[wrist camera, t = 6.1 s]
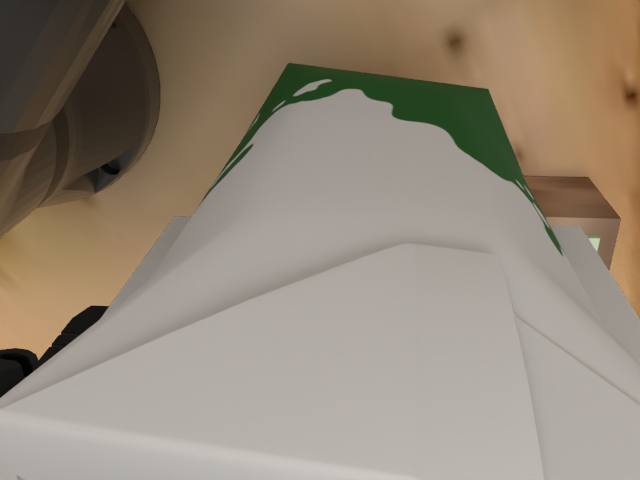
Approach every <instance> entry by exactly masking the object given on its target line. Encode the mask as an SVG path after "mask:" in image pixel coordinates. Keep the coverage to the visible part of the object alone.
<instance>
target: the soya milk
mask: <svg viewBox="0 0 640 480" xmlns="http://www.w3.org/2000/svg"><path fill="white" fill-rule="evenodd" d="M0 480H640V361H639V360H638V359H637V358H636V357H635V356H634V355H633V354H632V353H631V352H630V351H629V350H628V349H627V348H626V347H625V346H624V345H623V344H622V343H621V342H620V341H618V340H617V339H616V338H615V337H614V336H613V335H612V334H611V333H610V332H609V331H608V330H607V329H606V328H605V327H604V325H603V323H602V321H601V319H600V317H599V316H598V314H597V312H596V310H595V308H594V306H593V305H592V303H591V301H590V299H589V297H588V295H587V294H586V292H585V290H584V288H583V286H582V284H581V283H580V281H579V279H578V277H577V275H576V273H575V272H574V270H573V268H572V266H571V264H570V262H569V261H568V259H567V257H566V255H565V253H564V251H563V250H562V248H561V246H560V244H559V242H558V240H557V238H556V237H555V235H554V233H553V231H552V229H551V227H550V225H549V224H548V222H547V220H546V218H545V216H544V214H543V213H542V211H541V209H540V207H539V205H538V203H537V201H536V200H535V198H534V196H533V194H532V192H531V190H530V188H529V186H528V185H527V183H526V181H525V178H524V176H523V173H522V171H521V169H520V166H519V164H518V161H517V159H516V156H515V154H514V152H513V149H512V147H511V144H510V142H509V139H508V137H507V135H506V132H505V130H504V127H503V125H502V122H501V120H500V117H499V115H498V113H497V110H496V108H495V105H494V103H493V100H492V98H491V95H490V93H489V90H488V89H483V88H475V87H468V86H460V85H453V84H445V83H437V82H430V81H422V80H414V79H407V78H399V77H391V76H384V75H376V74H369V73H361V72H353V71H346V70H338V69H330V68H323V67H315V66H308V65H300V64H292V63H288V64H287V66H286V68H285V70H284V71H283V73H282V74H281V76H280V78H279V79H278V81H277V83H276V84H275V86H274V88H273V89H272V91H271V93H270V94H269V96H268V98H267V99H266V101H265V103H264V104H263V106H262V108H261V109H260V111H259V113H258V114H257V116H256V117H255V119H254V121H253V123H252V124H251V126H250V128H249V129H248V131H247V133H246V134H245V136H244V138H243V139H242V141H241V143H240V144H239V146H238V147H237V149H236V150H235V152H234V153H233V155H232V156H231V158H230V159H229V161H228V162H227V164H226V165H225V167H224V168H223V170H222V172H221V173H220V175H219V176H218V178H217V179H216V181H215V182H214V184H213V185H212V187H211V188H210V190H209V191H208V193H207V194H206V196H205V197H204V199H203V200H202V202H201V203H200V205H199V206H198V208H197V209H196V211H195V212H194V214H193V215H192V217H191V218H190V220H189V221H188V223H187V224H186V226H185V227H184V229H183V230H182V232H181V233H180V235H179V236H178V238H177V239H176V241H175V242H174V244H173V245H172V247H171V248H170V250H169V251H168V253H167V254H166V256H165V257H164V259H163V260H162V262H161V263H160V265H159V266H158V268H157V269H156V271H155V272H154V274H153V275H152V277H151V278H150V279H149V281H148V282H147V283H145V284H144V285H143V286H142V287H140V288H139V289H138V290H137V291H135V292H134V293H133V294H132V295H130V296H129V297H128V298H126V299H125V300H124V301H123V302H121V303H120V304H119V305H118V306H116V307H115V308H114V309H113V310H111V311H110V312H109V313H107V314H106V315H105V316H104V317H102V318H101V319H100V320H99V321H97V322H96V323H95V324H94V325H92V326H91V327H90V328H88V329H87V330H86V331H85V332H83V333H82V334H81V335H80V336H78V337H77V338H76V339H74V340H73V341H72V342H71V343H69V344H68V345H67V346H66V347H64V348H63V349H62V350H60V351H59V352H58V353H57V354H55V355H54V356H53V357H52V358H50V359H49V360H48V361H46V362H45V363H44V364H43V365H41V366H40V367H39V368H38V369H36V370H35V371H34V372H32V373H31V374H30V375H29V376H27V377H26V378H25V379H24V380H22V381H21V382H20V383H18V384H17V385H16V386H15V387H13V388H12V389H11V390H10V391H8V392H7V393H6V394H5V395H3V396H2V397H1V398H0Z"/></svg>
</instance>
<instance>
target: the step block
mask: <svg viewBox="0 0 640 480" xmlns="http://www.w3.org/2000/svg"><path fill="white" fill-rule="evenodd" d="M524 178H525V181H526V183H527V185H528V186H529V188H530V190H531V192H532V194H533V196H534V198H535V200H536V201H537V203H538V205H539V207H540V209H541V211H542V213H543V214H544V216H545V218H546V220H547V222H548V224H549V225H559V226H581V228H582V229H583V231H584V232H585V234H586V236H587V237H588V239H589V240H590V242H591V243H592V245H593V247H594V248H595V250H596V251H597V253H598V254H599V256H600V258H601V259H602V261H603V262H604V264H605V265H606V267H607V269H608V270H609V269H610V265H611V260H612V256H613V252H614V247H615V243H616V238H617V234H618V230H619V225H620V221H621V218H620V217H619V216H618V214H617V213H616V212H615V211H614V209H613V208H612V207H611V206H610V204H609V203H608V202H607V200H606V199H605V198H604V197H603V195H602V194H601V193H600V192H599V190H598V189H597V188H596V187H595V185H594V184H593V183H592V182H591V180H590V179H589V178H588V177H539V176H524Z"/></svg>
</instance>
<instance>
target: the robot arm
mask: <svg viewBox="0 0 640 480" xmlns="http://www.w3.org/2000/svg"><path fill="white" fill-rule="evenodd" d="M125 1H126V0H0V238H1V237H2V236H4V235H5V234H6V233H7V232H8V231H10V230H11V229H12V228H13V227H14V226H16V225H17V224H18V223H19V222H21V221H22V220H23V219H24V218H25V217H27V216H28V215H29V214H30V213H31V212H32V211H34V210H35V209H36V208H40V207H45V206H50V205H55V204H60V203H65V202H70V201H75V200H79V199H83V198H86V197H89V196H91V195H93V194H96V193H98V192H100V191H102V190H103V189H105V188H107V187H109V186H110V185H112V184H113V183H114V182H116V181H117V180H118V179H119V178H120V177H121V176H122V175H123V174H125V173H126V172H127V171H128V170H129V169H130V168H131V167H132V166H133V165H134V164H135V163H136V162H137V161H138V160H139V158H140V157H141V156H142V154H143V153H144V151H145V150H146V148H147V146H148V145H149V143H150V140H151V138H152V136H153V133H154V131H155V127H156V124H157V119H158V114H159V106H160V87H159V78H158V72H157V67H156V63H155V59H154V56H153V53H152V50H151V47H150V45H149V42H148V40H147V38H146V36H145V34H144V32H143V30H142V28H141V26H140V24H139V22H138V21H137V19H136V18H135V16H134V15H133V13H132V12H131V10H130V9H129V8H128V6H127V5H126V4H125ZM190 218H191V217H183V216H175V217H174V218H173V219H172V221H171V222H170V224H169V225H168V226H167V228H166V229H165V230H164V232H163V233H162V235H161V236H160V237H159V239H158V240H157V241H156V243H155V244H154V246H153V247H152V248H151V250H150V251H149V252H148V254H147V255H146V257H145V258H144V259H143V261H142V262H141V263H140V265H139V266H138V268H137V269H136V270H135V272H134V273H133V274H132V276H131V277H130V279H129V280H128V281H127V283H126V284H125V285H124V287H123V288H122V290H121V291H120V292H119V294H118V295H117V296H116V298H115V299H114V301H113V302H112V303H111V305H110V306H90V307H88V308H87V309H85V310H84V311H82V312H81V313H79V314H78V315H76V316H75V317H73V318H72V319H71V321H70V322H69V323H68V324H67V326H66V327H65V328H64V329H63V331H62V332H61V335H59V336H58V337H57V338H56V339H55V341H54V342H53V343H52V347H49V348H48V349H47V351H46V352H45V353H44V355H43V356H42V357H41V358H40V360H39V361H38V358H37V356H36V354H34V353H32V352H31V351H29V350H25V349H18V348H14V349H5V350H0V398H1V397H2V396H3V395H5V394H6V393H7V392H8V391H10V390H11V389H12V388H13V387H15V386H16V385H17V384H18V383H20V382H21V381H22V380H24V379H25V378H26V377H27V376H29V375H30V374H31V373H32V372H34V371H35V370H36V369H38V368H39V367H40V366H41V365H43V364H44V363H45V362H46V361H48V360H49V359H50V358H52V357H53V356H54V355H55V354H57V353H58V352H59V351H60V350H62V349H63V348H64V347H66V346H67V345H68V344H69V343H71V342H72V341H73V340H74V339H76V338H77V337H78V336H80V335H81V334H82V333H83V332H85V331H86V330H87V329H88V328H90V327H91V326H92V325H94V324H95V323H96V322H97V321H99V320H100V319H101V318H102V317H104V316H105V315H106V314H107V313H109V312H110V311H111V310H113V309H114V308H115V307H116V306H118V305H119V304H120V303H121V302H123V301H124V300H125V299H126V298H128V297H129V296H130V295H132V294H133V293H134V292H135V291H137V290H138V289H139V288H140V287H142V286H143V285H144V284H145V283H147V282H148V281H149V279H150V278H151V277H152V275H153V274H154V272H155V271H156V269H157V268H158V266H159V265H160V263H161V262H162V260H163V259H164V257H165V256H166V254H167V253H168V251H169V250H170V248H171V247H172V245H173V244H174V242H175V241H176V239H177V238H178V236H179V235H180V233H181V232H182V230H183V229H184V227H185V226H186V224H187V223H188V221H189V220H190ZM550 227H551V229H552V231H553V233H554V235H555V237H556V238H557V240H558V242H559V244H560V246H561V248H562V250H563V251H564V253H565V255H566V257H567V259H568V261H569V262H570V264H571V266H572V268H573V270H574V272H575V273H576V275H577V277H578V279H579V281H580V283H581V284H582V286H583V288H584V290H585V292H586V294H587V295H588V297H589V299H590V301H591V303H592V305H593V306H594V308H595V310H596V312H597V314H598V316H599V317H600V319H601V321H602V323H603V325H604V327H605V328H606V329H607V330H608V331H609V332H610V333H611V334H612V335H613V336H614V337H615V338H616V339H617V340H618V341H620V342H621V343H622V344H623V345H624V346H625V347H626V348H627V349H628V350H629V351H630V352H631V353H632V354H633V355H634V356H635V357H636V358H637V359H638V360H639V361H640V319H639V317H638V316H637V314H636V313H635V311H634V309H633V308H632V306H631V305H630V303H629V302H628V300H627V298H626V297H625V295H624V294H623V292H622V291H621V289H620V287H619V286H618V284H617V283H616V281H615V280H614V278H613V276H612V275H611V273H610V272H609V270H608V269H607V267H606V265H605V264H604V262H603V261H602V259H601V258H600V256H599V254H598V253H597V251H596V250H595V248H594V247H593V245H592V243H591V242H590V240H589V239H588V237H587V236H586V234H585V232H584V231H583V229H582V228H581V226H559V225H550Z"/></svg>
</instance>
